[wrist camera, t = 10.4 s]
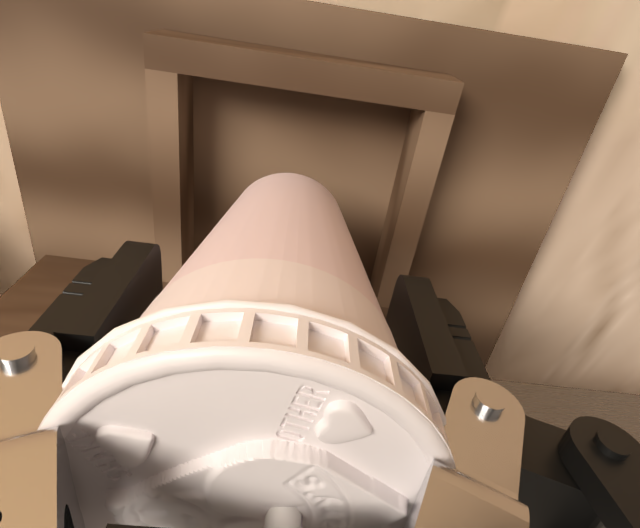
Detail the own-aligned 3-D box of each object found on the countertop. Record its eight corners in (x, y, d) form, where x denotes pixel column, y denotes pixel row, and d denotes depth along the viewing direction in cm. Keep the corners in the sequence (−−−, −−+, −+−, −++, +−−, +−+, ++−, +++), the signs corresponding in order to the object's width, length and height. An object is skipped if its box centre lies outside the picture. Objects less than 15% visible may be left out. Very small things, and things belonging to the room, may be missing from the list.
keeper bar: (323, 337, 18) (324, 425, 15) (824, 392, 20) (942, 483, 16) (309, 409, 21) (307, 501, 17) (761, 453, 22) (851, 545, 18)
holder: (-14, -53, 15) (-372, -108, 7) (611, 51, 16) (866, 96, 9) (65, 338, 23) (-57, 501, 16) (467, 380, 25) (531, 546, 17)
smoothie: (379, 299, 16) (538, 1106, 4) (208, 304, 17) (-82, 1101, 5) (386, 125, 13) (1072, 1414, 1) (173, 132, 13) (-1185, 1375, 1)
